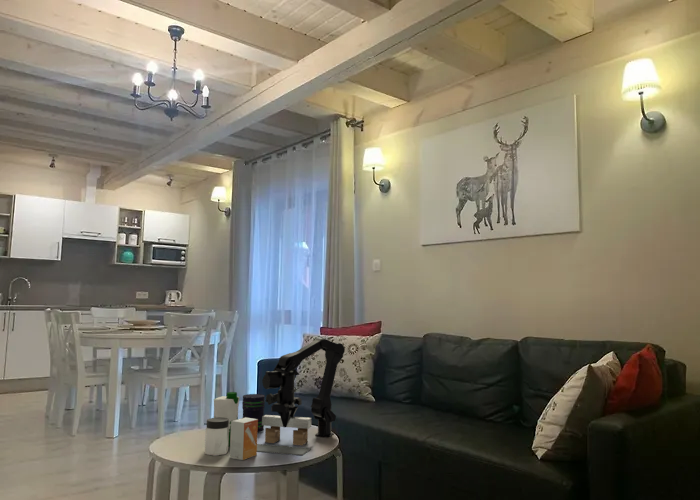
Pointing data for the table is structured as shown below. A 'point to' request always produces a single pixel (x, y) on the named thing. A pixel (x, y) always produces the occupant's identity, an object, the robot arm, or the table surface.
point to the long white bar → (292, 422)
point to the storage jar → (254, 408)
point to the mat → (281, 449)
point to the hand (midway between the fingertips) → (286, 426)
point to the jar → (217, 436)
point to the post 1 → (272, 434)
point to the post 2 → (300, 436)
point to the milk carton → (227, 408)
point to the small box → (243, 438)
